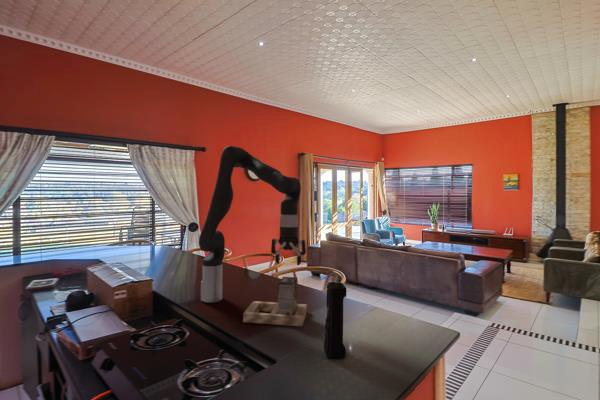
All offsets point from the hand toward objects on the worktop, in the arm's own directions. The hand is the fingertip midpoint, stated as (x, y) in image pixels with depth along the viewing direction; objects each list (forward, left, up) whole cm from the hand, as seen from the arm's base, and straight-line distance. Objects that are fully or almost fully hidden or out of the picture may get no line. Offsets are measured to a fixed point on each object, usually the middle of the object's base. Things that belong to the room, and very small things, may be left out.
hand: (288, 264), depth 126 cm
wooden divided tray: (-5, 0, -23) cm, 23 cm away
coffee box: (0, 0, -23) cm, 23 cm away
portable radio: (+20, -25, -23) cm, 39 cm away
